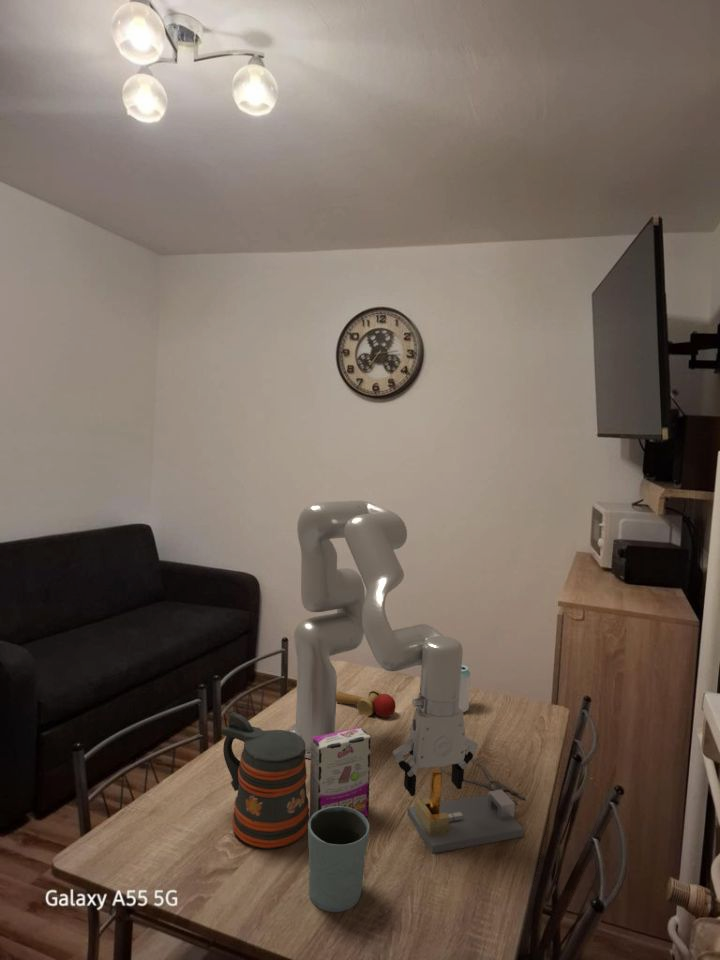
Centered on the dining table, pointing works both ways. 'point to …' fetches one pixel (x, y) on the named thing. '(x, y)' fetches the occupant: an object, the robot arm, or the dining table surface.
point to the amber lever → (439, 796)
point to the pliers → (494, 784)
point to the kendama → (370, 703)
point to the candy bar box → (340, 770)
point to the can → (464, 689)
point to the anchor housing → (501, 804)
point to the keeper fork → (431, 818)
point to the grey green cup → (336, 857)
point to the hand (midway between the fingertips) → (433, 788)
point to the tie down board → (469, 825)
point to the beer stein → (267, 784)
